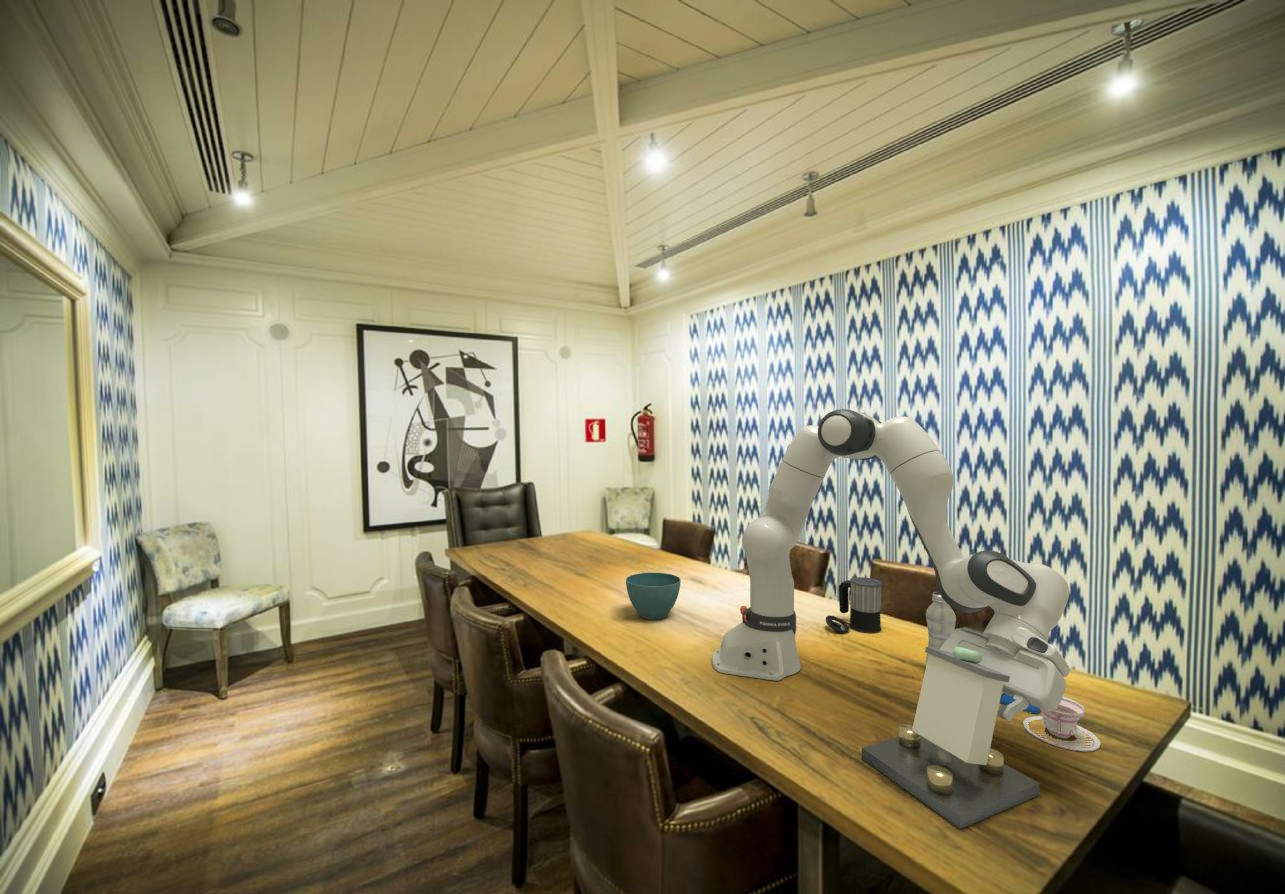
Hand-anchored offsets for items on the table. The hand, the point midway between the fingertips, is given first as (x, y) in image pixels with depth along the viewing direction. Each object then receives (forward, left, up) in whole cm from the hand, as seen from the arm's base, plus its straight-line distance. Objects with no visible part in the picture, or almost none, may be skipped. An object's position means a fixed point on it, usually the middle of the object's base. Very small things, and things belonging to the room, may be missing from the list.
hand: (976, 704), depth 94 cm
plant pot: (-67, +72, -11) cm, 99 cm away
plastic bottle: (+9, +38, -11) cm, 41 cm away
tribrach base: (-7, -4, -11) cm, 13 cm away
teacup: (+21, +13, -11) cm, 27 cm away
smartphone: (+23, +28, -11) cm, 38 cm away
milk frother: (-4, +68, -11) cm, 69 cm away
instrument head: (-7, -4, -8) cm, 12 cm away
